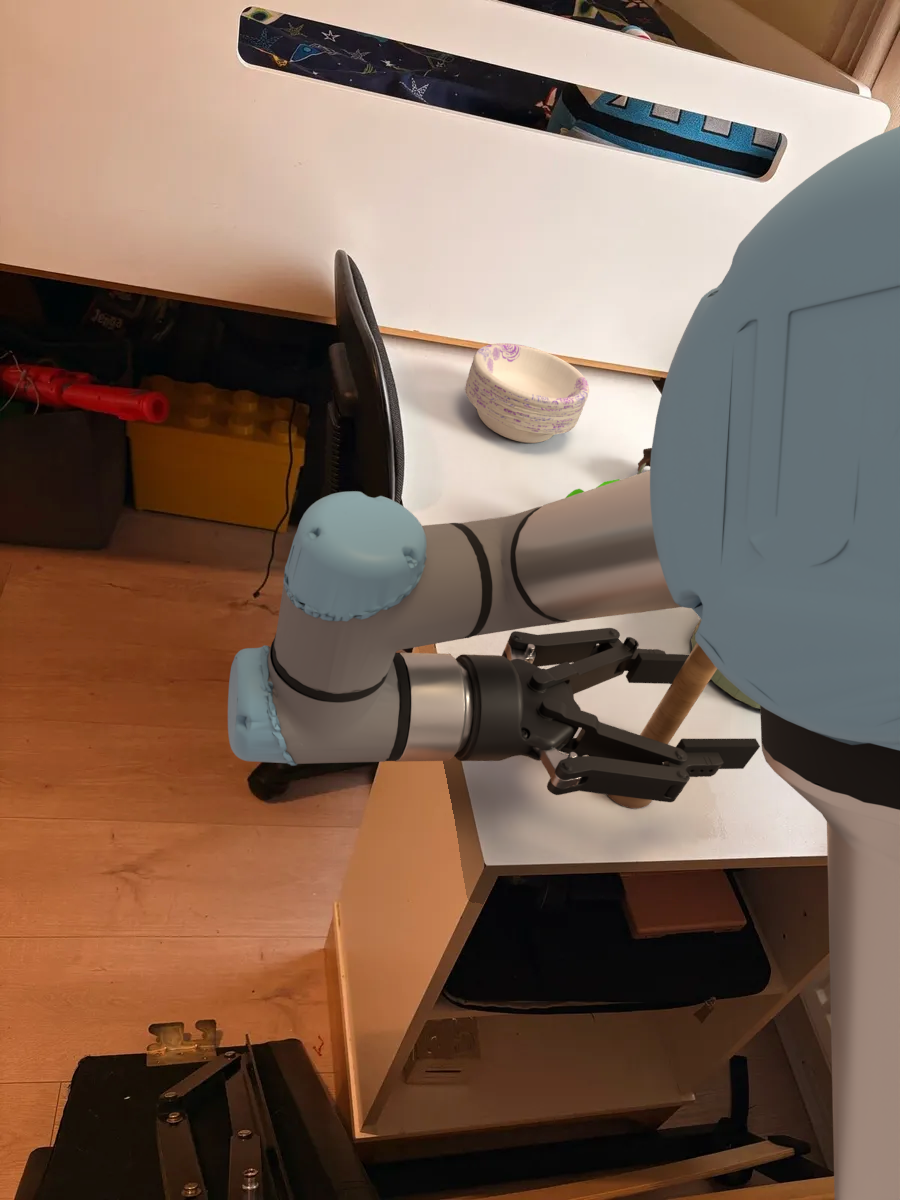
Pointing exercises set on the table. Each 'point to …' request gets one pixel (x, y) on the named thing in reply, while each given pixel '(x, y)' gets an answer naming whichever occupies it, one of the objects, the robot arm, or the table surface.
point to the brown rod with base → (675, 707)
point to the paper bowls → (525, 392)
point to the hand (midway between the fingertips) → (724, 710)
